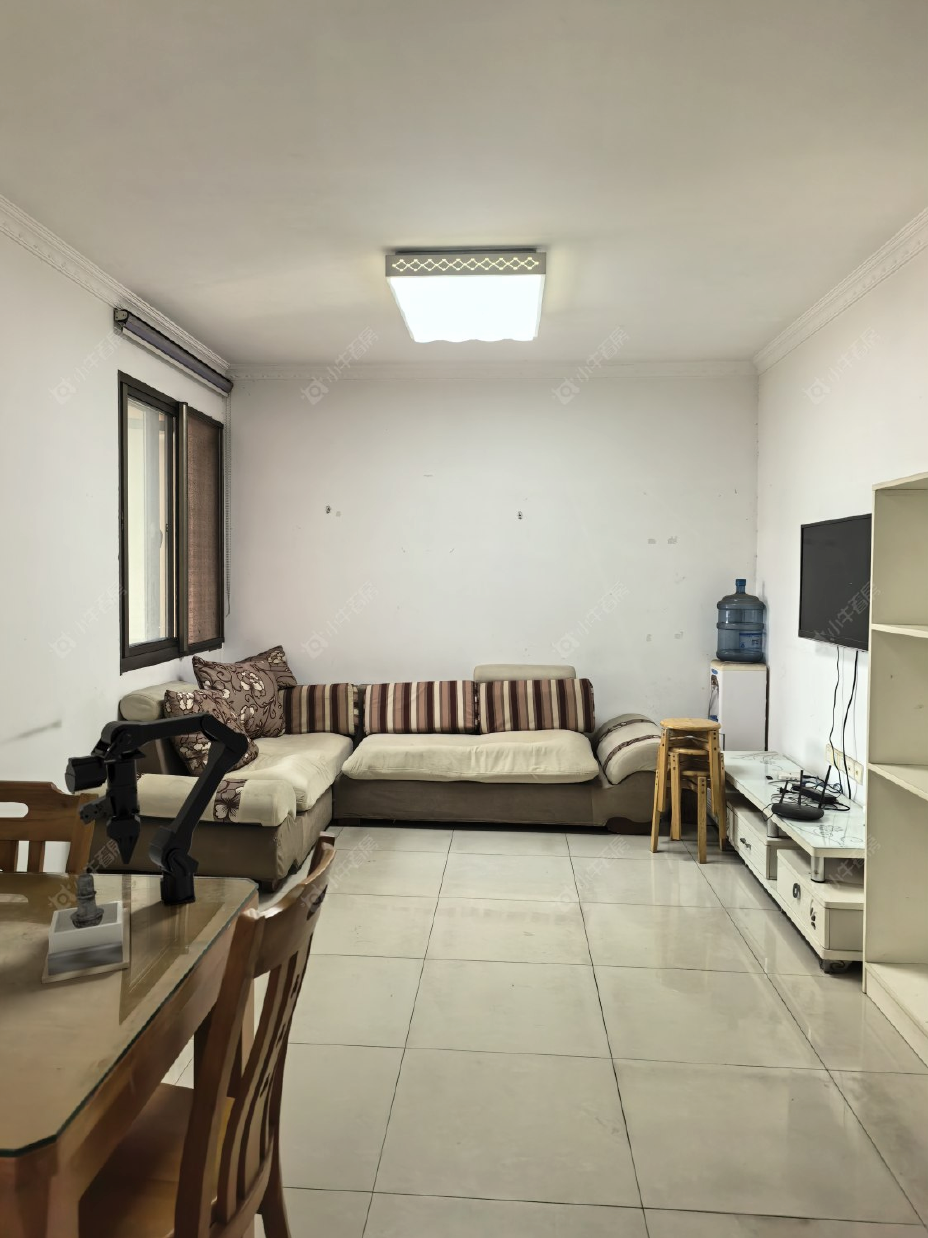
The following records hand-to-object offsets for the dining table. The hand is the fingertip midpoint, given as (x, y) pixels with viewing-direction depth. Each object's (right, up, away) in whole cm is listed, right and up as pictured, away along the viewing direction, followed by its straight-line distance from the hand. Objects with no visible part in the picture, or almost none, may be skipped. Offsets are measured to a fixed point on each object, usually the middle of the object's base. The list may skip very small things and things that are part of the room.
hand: (126, 857), depth 173 cm
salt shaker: (0, -10, -17) cm, 19 cm away
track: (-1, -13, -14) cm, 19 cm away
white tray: (0, -12, -17) cm, 20 cm away
